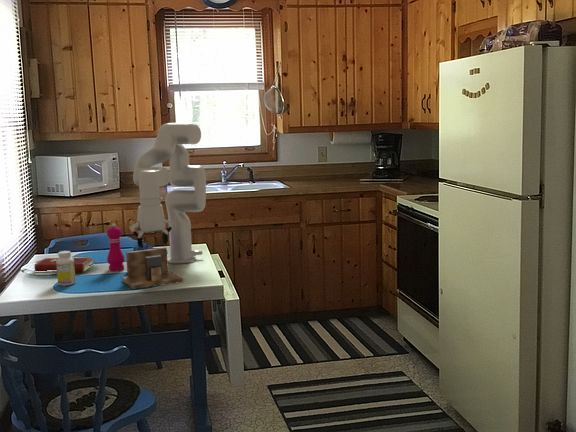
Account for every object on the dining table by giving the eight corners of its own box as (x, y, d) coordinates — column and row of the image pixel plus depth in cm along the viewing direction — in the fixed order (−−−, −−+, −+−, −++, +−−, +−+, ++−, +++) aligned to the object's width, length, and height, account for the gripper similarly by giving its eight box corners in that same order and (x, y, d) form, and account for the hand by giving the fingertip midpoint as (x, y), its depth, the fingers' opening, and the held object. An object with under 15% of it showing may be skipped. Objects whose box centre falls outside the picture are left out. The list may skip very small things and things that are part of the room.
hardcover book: (84, 273, 290) (83, 263, 290) (35, 273, 291) (34, 263, 291) (93, 266, 302) (92, 257, 301) (46, 266, 303) (45, 257, 302)
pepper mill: (120, 271, 289) (117, 224, 286) (104, 271, 290) (101, 224, 287) (128, 267, 296) (125, 221, 293) (112, 267, 297) (109, 221, 294)
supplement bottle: (67, 281, 276) (65, 249, 273) (79, 282, 272) (77, 251, 270) (54, 285, 270) (51, 252, 268) (66, 286, 266) (63, 254, 264)
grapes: (157, 268, 294) (156, 240, 292) (155, 272, 287) (154, 243, 285) (130, 269, 293) (128, 241, 291) (127, 273, 287) (125, 244, 285)
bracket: (160, 277, 272) (159, 255, 271) (162, 278, 270) (161, 256, 268) (145, 279, 269) (144, 256, 268) (147, 280, 267) (146, 258, 266)
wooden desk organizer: (170, 274, 283) (169, 246, 281) (183, 281, 270) (181, 253, 268) (122, 280, 274) (120, 252, 272) (133, 289, 261) (131, 259, 259)
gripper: (168, 198, 272) (171, 241, 275) (125, 203, 264) (128, 246, 267) (175, 201, 266) (177, 244, 269) (130, 205, 257) (133, 250, 261)
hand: (153, 245), depth 268 cm, fingers open, 9 cm apart
